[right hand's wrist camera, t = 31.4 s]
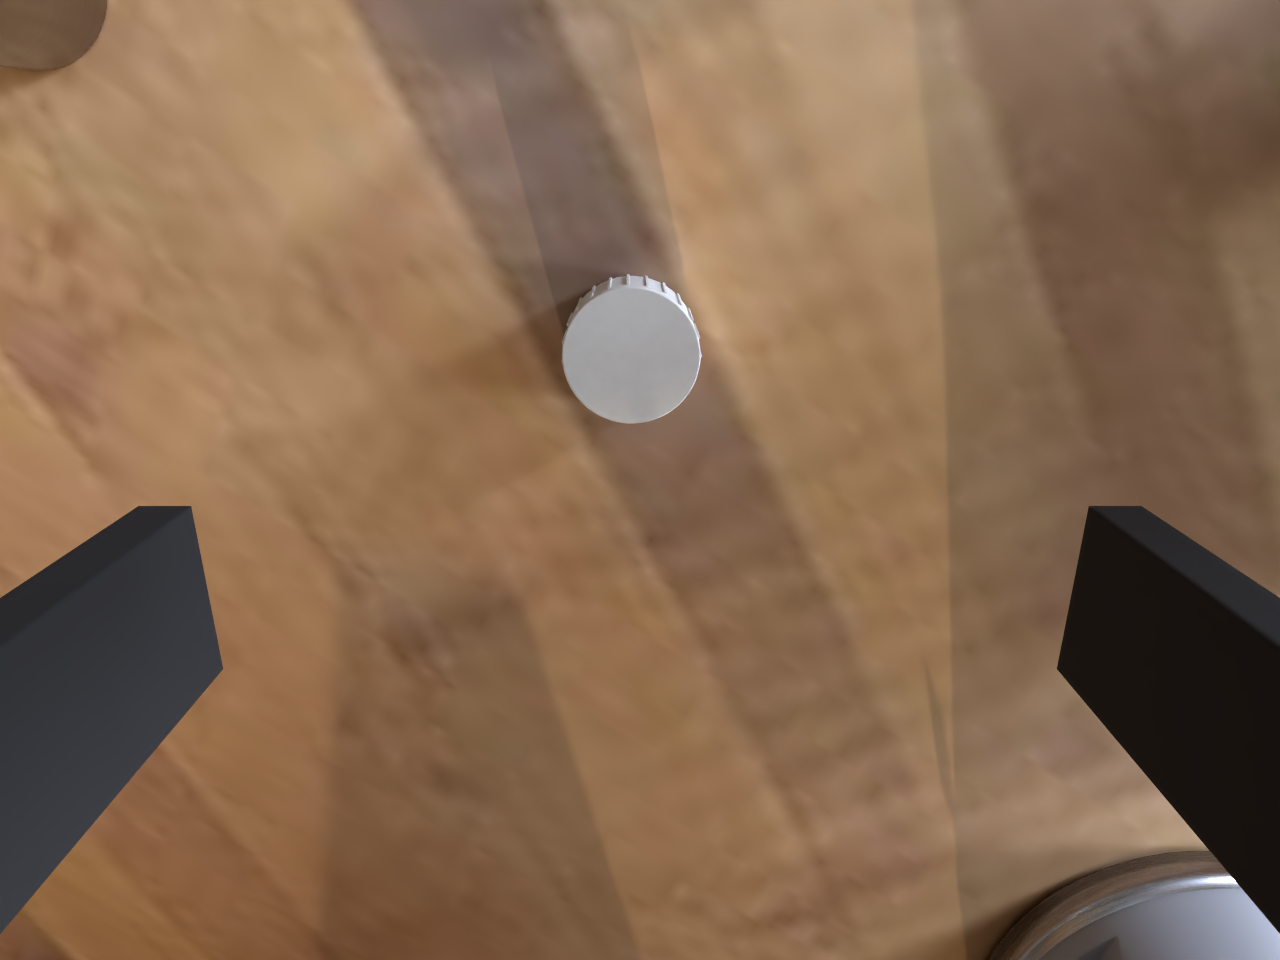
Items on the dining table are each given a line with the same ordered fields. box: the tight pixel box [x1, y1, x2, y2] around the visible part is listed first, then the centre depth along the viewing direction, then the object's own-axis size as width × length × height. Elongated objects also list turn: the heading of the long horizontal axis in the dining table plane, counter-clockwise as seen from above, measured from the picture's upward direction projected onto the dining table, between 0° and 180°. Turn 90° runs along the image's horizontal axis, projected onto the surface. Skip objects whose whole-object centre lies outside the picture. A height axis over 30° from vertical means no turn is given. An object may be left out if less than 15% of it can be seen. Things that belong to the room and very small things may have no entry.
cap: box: [561, 274, 701, 423], centre depth 25 cm, size 4×4×2 cm
